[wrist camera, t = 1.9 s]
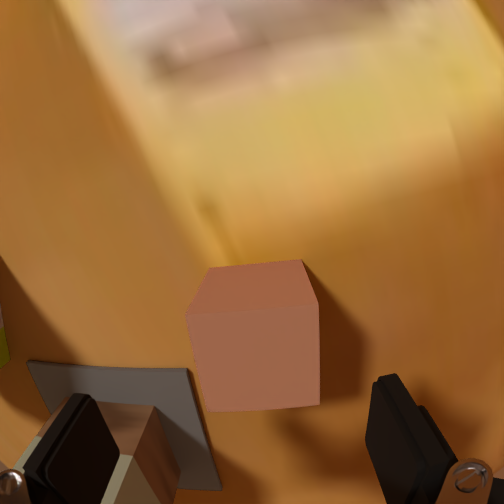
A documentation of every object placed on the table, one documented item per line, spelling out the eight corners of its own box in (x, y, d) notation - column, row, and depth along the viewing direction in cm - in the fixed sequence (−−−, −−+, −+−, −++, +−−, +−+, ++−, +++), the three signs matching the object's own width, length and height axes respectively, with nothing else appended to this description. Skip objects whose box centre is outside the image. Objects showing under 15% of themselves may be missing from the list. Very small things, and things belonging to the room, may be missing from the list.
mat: (187, 368, 19) (185, 371, 19) (222, 487, 23) (222, 490, 23) (28, 360, 20) (25, 362, 20) (89, 471, 24) (87, 473, 23)
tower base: (154, 405, 20) (133, 455, 15) (181, 471, 22) (169, 516, 17) (65, 396, 20) (35, 435, 16) (100, 461, 22) (81, 499, 18)
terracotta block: (300, 259, 17) (318, 303, 12) (305, 339, 19) (319, 404, 13) (209, 267, 18) (185, 314, 12) (222, 346, 19) (207, 411, 13)
